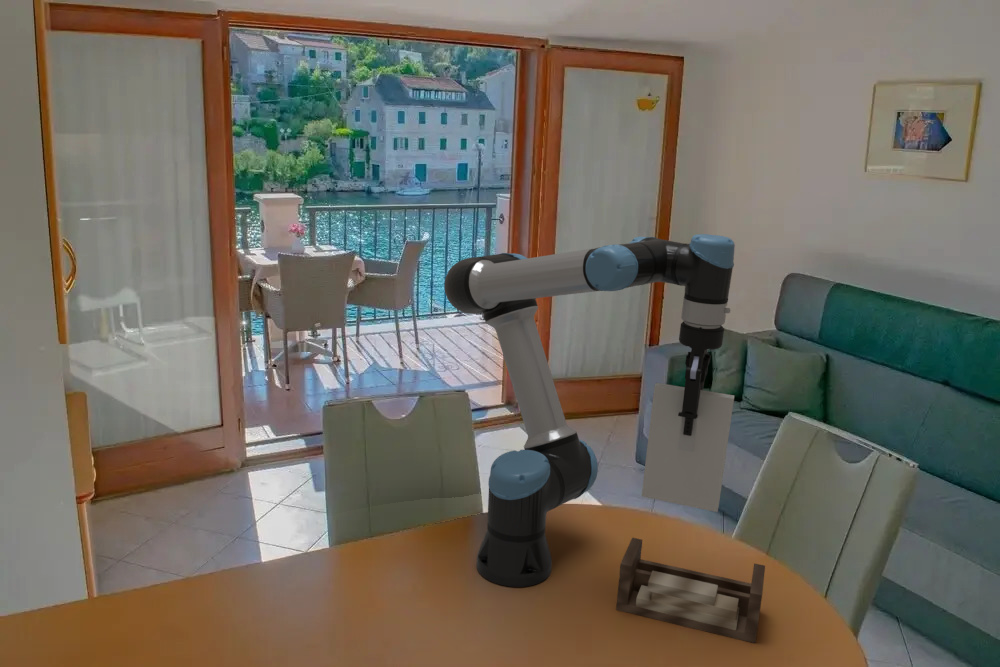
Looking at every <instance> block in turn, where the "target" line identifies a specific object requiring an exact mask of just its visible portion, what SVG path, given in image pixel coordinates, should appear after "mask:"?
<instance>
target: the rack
mask: <svg viewBox="0 0 1000 667" xmlns="http://www.w3.org/2000/svg"><path fill="white" fill-rule="evenodd" d="M642 548H643V539H642V538H635V537H631V540H630V541H629V544H628V546H627V548H626V549H625V550H626V551H625V553H624V555H623V557H622V559H621V562H620V566H619V576H618V577H619V578H618V585H617V596H616V609H615V610H616V611H621V612H624V613H628V614H633V615H637V616H641V617H644V618H649V619H653V620H656V621H657V620H658V621H660V622H661V621H662V622H666V623H669V624H674V625H678V626H682V627H686V628H690V629H695V630H699V631H703V632H707V633H710V634H715V635H719V636H723V637H727V638H730V639H731V638H732V639H736V640H740V641H743V642H748V643H752V644H756V642H757V641H756V640H757V633H758V628H759V627H758V626H759V619H760V612H761V607H762V606H761V605H762V601H763V600H762V598H763V593H764V592H763V590H764V580H765V572H766V565H763V564H759V563H753V568H752V576H751V582H745V581H741V580H737V579H731V578H728V577H723V576H718V575H714V574H710V573H705V572H700V571H696V570H691V569H687V568H683V567H682V568H681V567H677V566H674V565H668V564H666V563H665V564H664V563H660V562H655V561H650V560H646V559H643V558H641V556H642ZM652 571H657V572H661V573H666V574H670V575H675V576H679V577H684V578H688V579H693V580H697V581H702V582H706V583H711V584H715V585H718V588H717V594H721V595H725V596H730V597H734V598H738V599H739V601H738V607H739V614H738V620H737V627H736V630H732V629H728V628H724V627H720V626H715V625H711V624H707V623H703V622H699V621H695V620H690V619H686V618H682V617H678V616H674V615H669V614H665V613H661V612H657V611H653V610H649V609H644V608H640V607H636V598H637V595H638V593H639V590H640V587H641V585H644V586H648V581H649V579H650V576H651V573H652Z"/></svg>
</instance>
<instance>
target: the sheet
mask: <svg viewBox="0 0 1000 667" xmlns="http://www.w3.org/2000/svg"><path fill="white" fill-rule="evenodd" d="M653 387H654V388H653V393H652V394H653V397H652V403H651V414H650V422H649V429H648V430H649V431H648V439H647V446H646V454H645V465H644V472H643V481H642V489H641V497H644V498H647V499H652V500H656V501H662V502H666V503H667V502H668V503H670V504H671V503H672V504H677V505H681V506H686V507H690V508H695V509H696V508H697V509H701V510H705V511H710V512H715V513H718V511H719V506H720V501H721V500H720V498H721V493H722V487H723V486H722V484H723V478H724V473H725V472H724V471H725V465H726V464H725V463H726V458H727V450H728V446H729V445H728V444H729V436H730V429H731V425H732V424H731V421H732V418H733V417H732V416H733V410H734V404H735V402H734V401H735V395H732V394H728V393H720V392H716V391H708V390H704V389H703V390H700V397H699V404H698V411H697V415H698V416H697V417H698V420H697V427H696V435H695V443H694V450H693V452H689V451H683V450H678V445H679V437H680V429H681V421H682V417H681V416H678V413H679V412H682V407H683V399H684V390H685V386H679V385H673V384H665V383H660V382H655V384H654V386H653Z"/></svg>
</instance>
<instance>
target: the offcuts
mask: <svg viewBox="0 0 1000 667" xmlns="http://www.w3.org/2000/svg"><path fill="white" fill-rule="evenodd" d="M717 588H718V585H715V584H711V583H706V582H702V581H697V580H693V579H688V578H684V577H679V576H675V575H670V574H666V573H661V572H657V571H652V573H651V576H650V579H649V581H648V586H644V585H641V587H640V590H639V593H638V595H637V598H636V607H640V608H644V609H649V610H653V611H657V612H661V613H665V614H669V615H674V616H678V617H682V618H686V619H690V620H695V621H699V622H703V623H707V624H711V625H715V626H720V627H724V628H728V629H732V630H736V627H737V620H738V614H739V607H738V601H739V599H738V598H734V597H730V596H725V595H721V594H717Z"/></svg>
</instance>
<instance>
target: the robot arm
mask: <svg viewBox="0 0 1000 667" xmlns="http://www.w3.org/2000/svg"><path fill="white" fill-rule="evenodd" d="M734 257H735V242H734V240H733V239H732V238H730V237H727V236H724V235H717V234H707V233H706V234H705V233H704V234H703V233H702V234H701V233H700V234H699V233H698V234H694V235H693V236H692V237H691V239H690V242H689V243H684V242H683V243H682V242H677V241H673V240H667V239H662V238H657V237H654V236H647V237H646V236H636V237H634V238H632V240H631V241H629V242H628V243H620V244H616V243H615V244H608V245H603V246H601V247H596V248H595V247H594V248H587V249H581V250H575V251H568V252H563V253H562V252H561V253H555V254H548V255H542V256H536V257H530V258H529V257H527V256H524V255H523V254H519V253H514V252H513V253H510V252H509V253H508V252H501V253H497V254H490V255H483V256H476V257H475V256H474V257H468V258H467V257H466V258H464V259H461V260H459V261H457V262H456V263H455V264H453V265H452V266H451V267H450V269H449V270H448V272H447V274H446V276H445V280H444V293H445V296H446V298H447V300H448V302H449V303H450V305H451V306H452V307H453V308H455V309H456V310H457V311H460V312H462V313H464V314H470V315H476V314H482V315H483V318H484V321H485V324H486V325H487V326H489V327H491V328H494V330H495V332H496V335H497V339H498V342H499V345H500V350H501V352H502V355H503V360H504V363H505V366H506V369H507V372H508V375H509V378H510V382H511V385H512V388H513V392H514V395H515V398H516V402H517V405H518V409H519V412H520V415H521V418H522V421H523V425H524V428H525V431H526V434H527V439H526V441H525V443H524V445H523V449H520V450H518V451H517V450H511V451H507V452H504V453H502V454H501V455H498V456H497V457H496V459H494V461H493V462H492V464H491V465H490V466H491V467H490V473H489V477H488V500H487V525H486V526H487V527H486V531H485V532H486V533H485V535H484V536H483V540H482V542H481V544H480V547H479V549H478V551H477V555H476V569H477V571H478V573H479V574H480V575H481V576H482V578H484V579H486V580H488V581H490V582H492V583H494V584H496V585H497V584H498V585H499V586H504V587H505V586H506V587H514V588H523V587H531V586H534V585H537V584H540V583H543V582H544V581H546V580H547V579H548V578H549V577H550V575H551V573H552V564H553V563H552V562H553V561H552V556H551V554H552V553H551V551H550V548H549V544H548V540H547V537H546V522H547V513H548V512H550V511H551V510H554V509H556V508H558V507H559V506H562V505H564V504H566V503H568V502H570V501H572V500H576V499H578V498H580V497H581V496H582V495H584V494H585V493H587V492H588V491H589V490H590V489H591V488H592V487H593V485H594V484H595V482H596V480H597V476H598V459H597V456H596V453H595V452H594V450H593V448H592V447H591V446H590V445H587V442H586V441H584V440H583V439H579V435H578V432H577V429H574V428H572V427H570V426H569V425H568V424H567V421H566V417H565V414H564V411H563V409H562V405H561V402H560V399H559V398H560V397H559V395H558V392H557V389H556V385H555V382H554V378H553V376H552V372H551V369H550V366H549V363H548V360H547V357H546V356H547V355H546V353H545V350H544V347H543V343H542V340H541V336H540V334H539V331H538V328H537V324H536V320H535V315H536V313H537V311H538V309H539V305H538V303H537V299H538V298H539V299H541V298H550V297H557V296H558V297H559V296H567V295H576V294H585V293H593V292H595V293H596V292H617V291H622V290H624V289H628V288H633V287H636V286H643V285H649V284H653V283H665V284H672V285H677V286H681V287H684V295H683V302H682V308H681V316H680V317H681V320H682V322H681V323H680V328H679V336H678V341H679V343H680V344H681V345H682V346H685V347H689V348H690V349H691V351H688V352H687V355H686V356H685V373H684V380H685V381H684V387H685V390H684V399H683V407H682V412H679V413H678V416H681V417H682V421H681V429H680V437H679V445H678V450H683V451H689V452H693V450H694V443H695V435H696V427H697V420H698V417H697V416H698V415H697V411H698V404H699V397H700V390H704V386H705V380H706V378H707V375H708V369H709V368H708V367H709V365H710V362H711V357H712V356H711V354H710V353H709V352H708V350H711V351H712V350H713V351H714V350H718V349H720V348H721V347H722V345H723V340H724V335H725V334H724V333H725V328H724V327H723V326H724V325H725V323H726V317H727V314H730V313H731V308H729V307H727V306H728V302H729V293H730V288H731V281H732V274H733V269H734V265H735V264H734V263H735V262H734V259H735V258H734Z"/></svg>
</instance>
